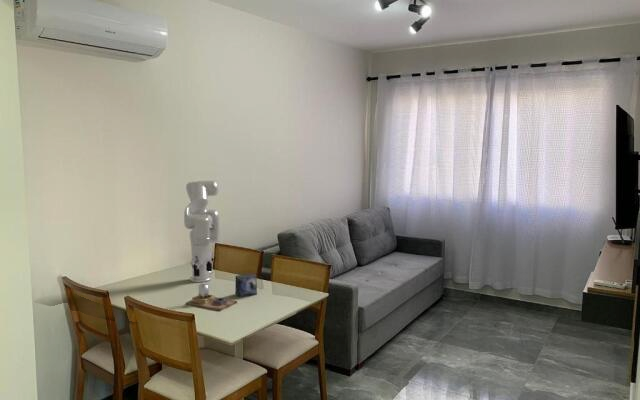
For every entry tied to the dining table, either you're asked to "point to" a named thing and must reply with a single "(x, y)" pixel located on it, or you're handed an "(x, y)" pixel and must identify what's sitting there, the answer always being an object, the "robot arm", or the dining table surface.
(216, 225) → the robot arm
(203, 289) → the pipe fitting
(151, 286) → the dining table surface
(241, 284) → the small box
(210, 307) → the fitting board
